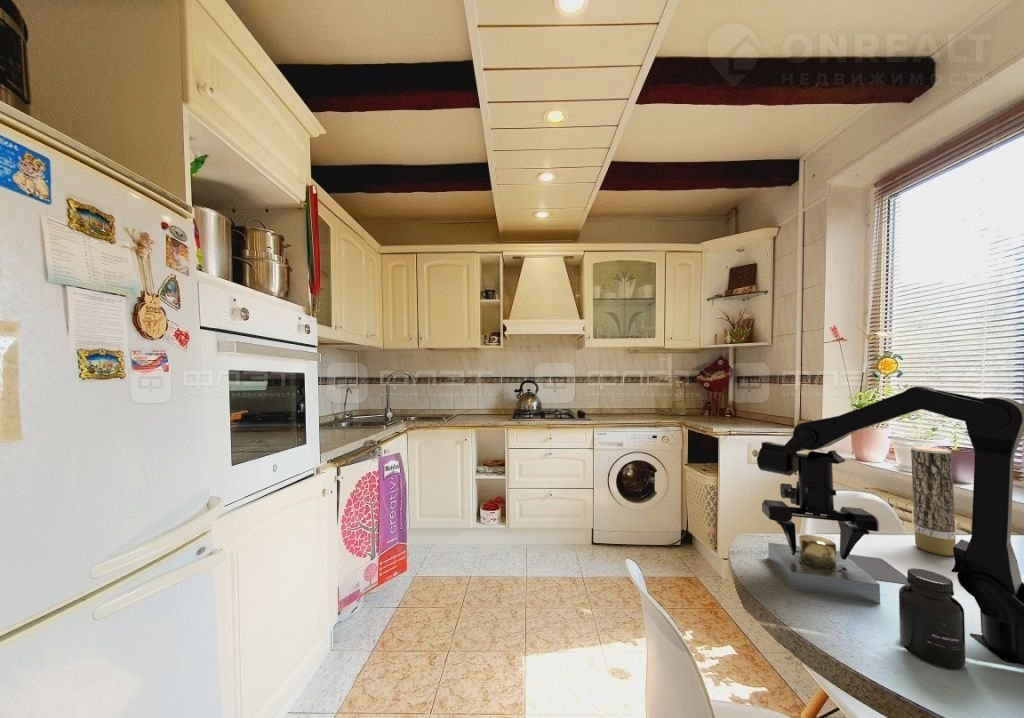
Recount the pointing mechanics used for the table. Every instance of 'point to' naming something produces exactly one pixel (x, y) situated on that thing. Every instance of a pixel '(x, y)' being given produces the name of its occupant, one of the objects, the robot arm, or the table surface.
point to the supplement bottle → (932, 620)
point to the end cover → (818, 551)
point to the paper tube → (933, 500)
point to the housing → (824, 575)
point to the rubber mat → (879, 569)
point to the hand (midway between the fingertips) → (817, 555)
